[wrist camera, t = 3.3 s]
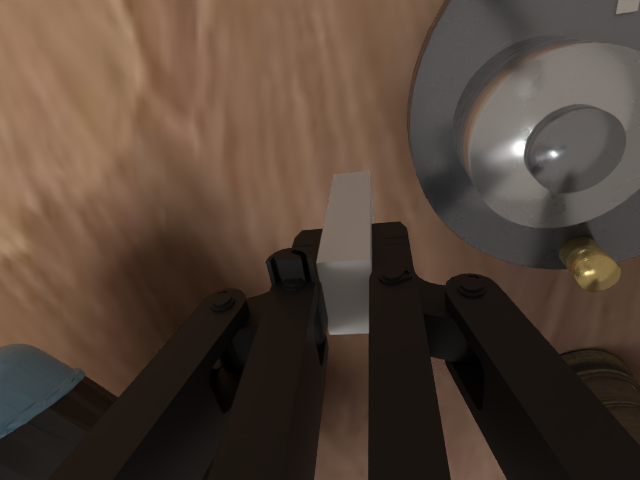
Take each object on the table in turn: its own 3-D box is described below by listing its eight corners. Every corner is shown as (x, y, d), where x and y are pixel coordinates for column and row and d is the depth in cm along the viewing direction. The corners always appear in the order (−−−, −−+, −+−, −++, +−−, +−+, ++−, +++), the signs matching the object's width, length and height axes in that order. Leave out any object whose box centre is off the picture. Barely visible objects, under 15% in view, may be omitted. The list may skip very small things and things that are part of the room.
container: (603, 334, 35) (787, 592, 20) (645, 389, 38) (835, 652, 23) (508, 376, 39) (603, 621, 24) (554, 424, 42) (664, 670, 26)
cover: (451, 197, 27) (472, 244, 21) (453, 48, 22) (480, 63, 17) (599, 183, 25) (660, 229, 20) (633, 21, 21) (722, 28, 16)
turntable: (412, 264, 32) (420, 304, 28) (398, -83, 21) (407, -105, 17) (729, 241, 28) (794, 284, 24) (908, -187, 18) (1082, -248, 13)
